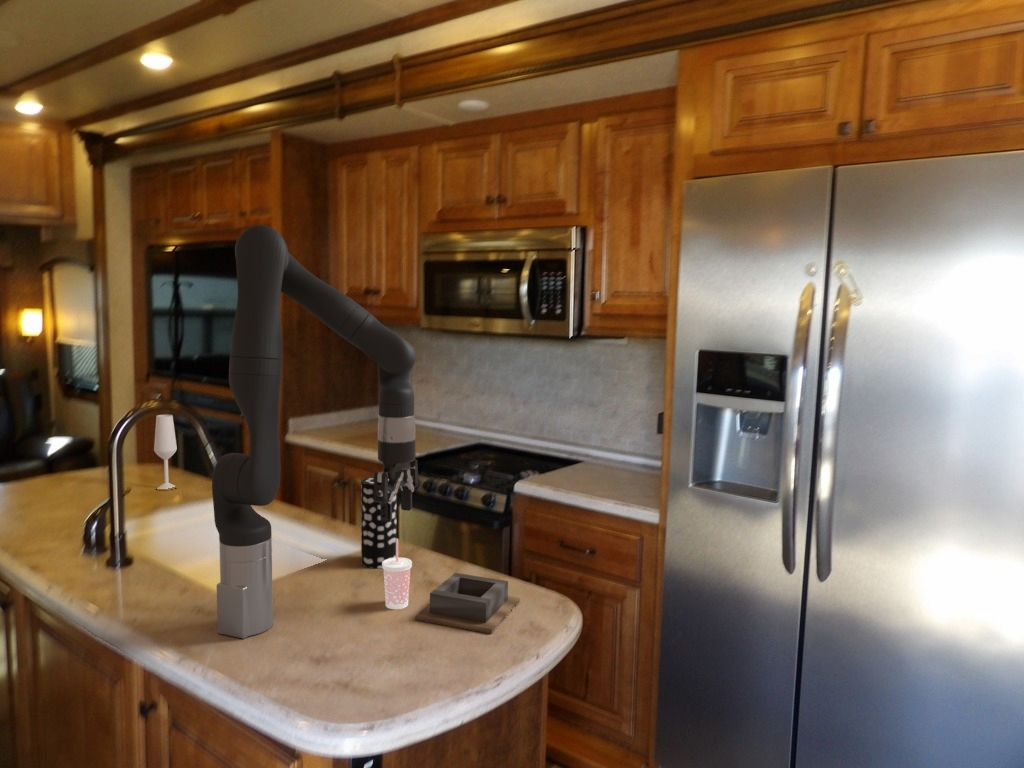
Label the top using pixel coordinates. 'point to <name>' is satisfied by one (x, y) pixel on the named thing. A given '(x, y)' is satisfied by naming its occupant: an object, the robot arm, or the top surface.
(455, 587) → the cup holder
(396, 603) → the beverage cup
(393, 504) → the white-spotted black cylinder
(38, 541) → the top surface
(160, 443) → the champagne flute
